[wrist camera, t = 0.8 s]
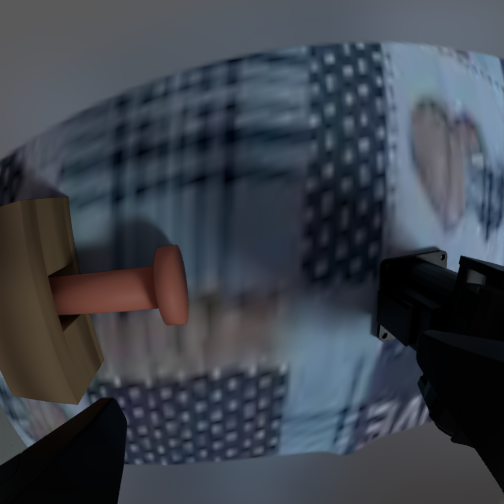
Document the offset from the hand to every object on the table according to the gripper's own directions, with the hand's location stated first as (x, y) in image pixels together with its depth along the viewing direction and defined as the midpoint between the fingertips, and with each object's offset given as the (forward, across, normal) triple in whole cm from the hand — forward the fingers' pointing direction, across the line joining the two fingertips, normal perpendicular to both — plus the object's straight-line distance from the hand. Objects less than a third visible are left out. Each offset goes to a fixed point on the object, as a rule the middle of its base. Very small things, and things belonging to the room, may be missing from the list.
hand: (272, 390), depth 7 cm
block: (+12, +14, -2) cm, 18 cm away
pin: (+11, +8, -1) cm, 14 cm away
